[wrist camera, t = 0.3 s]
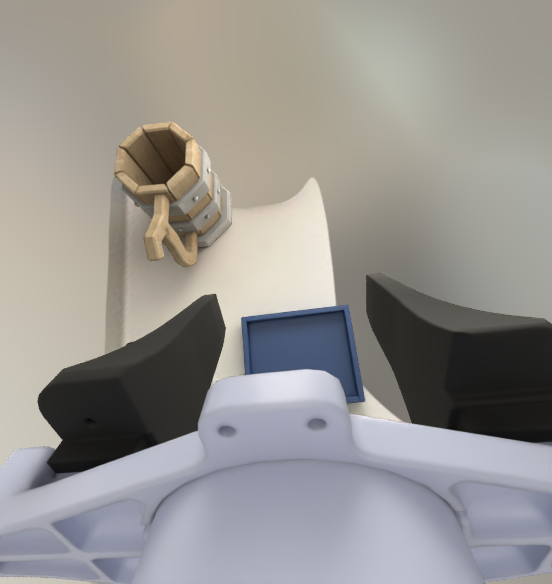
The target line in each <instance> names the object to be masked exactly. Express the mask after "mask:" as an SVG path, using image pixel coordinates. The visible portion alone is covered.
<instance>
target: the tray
mask: <svg viewBox="0 0 552 584" xmlns="http://www.w3.org/2000/svg"><path fill="white" fill-rule="evenodd" d="M241 320H242V334H243V348H244V362H245V375H251V374H261V373H272V372H282V371H293V370H303V369H310V370H320V371H326V372H327V373H329V374H331V375H332V376H334V377H336V378H337V379H339V381H340V383H341V386H342V388H343V390H344V393H345V398H346V402H347V403H355V402H365V398H364V392H363V386H362V381H361V376H360V369H359V363H358V358H357V352H356V346H355V340H354V334H353V329H352V323H351V317H350V312H349V306H348V305H341V306H333V307H324V308H316V309H308V310H299V311H291V312H283V313H274V314H266V315H257V316H249V317H242V318H241Z"/></svg>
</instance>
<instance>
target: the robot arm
mask: <svg viewBox="0 0 552 584" xmlns="http://www.w3.org/2000/svg"><path fill="white" fill-rule="evenodd" d="M366 305H367V306H366V309H367V310H366V312H367V316H368V319H369V321H370V324H371V328H372V330H373V332H374V334H375V336H376V338H377V340H378V342H379V344H380V346H381V348H382V350H383V352H384V354H385V356H386V357H387V359H388V361H389V363H390V365H391V367H392V370H393V372H394V374H395V377H396V379H397V382H398V385H399V388H400V390H401V393H402V396H403V399H404V401H405V404H406V407H407V410H408V413H409V416H410V419H411V422H412V424H411V423H405V422H398V421H392V420H386V419H380V418H373V417H367V416H361V415H355V414H350V413H349V411H348V406H347V402H346V398H345V393H344V390H343V388H342V386H341V383H340V381H339V379H337V378H336V377H334V376H332V375H331V374H329V373H327V372H326V371H320V370H310V369H303V370H293V371H282V372H272V373H261V374H251V375H240V376H231V377H228V378H225V379H222V380H219V381H216V382H215V383H214V384H213V386H212V387H211V388H210V386H211V382H212V379H213V376H214V373H215V370H216V367H217V364H218V360H219V357H220V354H221V351H222V347H223V343H224V337H225V330H226V327H225V324H224V321H223V317H222V314H221V310H220V307H219V304H218V300H217V297H216V294H211V295H204V296H202V297H200V298H199V299H197V300H196V301H195V302H193V303H192V304H191V305H189V306H188V307H187V308H185V309H184V310H183V311H182V312H180V313H179V314H178V315H176V316H175V317H173V318H172V319H171V320H169V321H168V322H166V323H165V324H164V325H162V326H161V327H159V328H158V329H156V330H154V331H153V332H151V333H149V334H148V335H146V336H144V337H142V338H140V339H138V340H136V341H134V342H132V343H130V344H128V345H126V346H124V347H122V348H120V349H118V350H115V351H113V352H111V353H108V354H106V355H103V356H101V357H98V358H95V359H92V360H90V361H86V362H84V363H80V364H77V365H74V366H71V367H68V368H65V369H63V370H62V371H61V372H60V373H59V374H58V375H57V376H56V377H55V378H54V379H53V380H52V381H51V382H50V383H49V384H48V385H47V386H46V387H45V388H44V389H43V390H42V392H41V393H40V394H39V397H38V405H39V410H40V412H41V413H42V415H43V417H44V418H45V419H46V420H47V422H48V423H49V424H50V425H51V427H52V428H53V429H54V430H55V431H56V432H57V434H58V435H59V436H60V438H61V439H62V442H61V444H60V445H59V446H58V447H57V449H56V450H55V449H54V448H51V447H45V446H43V447H31V448H19V449H16V450H15V451H14V452H13V453H12V454H11V455H10V457H9V458H8V459H7V460H6V462H4V464H3V465H2V466H1V467H0V577H41V578H59V579H69V580H80V581H89V582H98V583H107V584H486V583H485V582H492V581H499V580H506V579H512V578H520V577H526V576H534V575H540V574H548V573H552V324H551V323H550V322H548V321H547V320H545V319H542V318H533V317H523V316H512V315H504V314H498V313H491V312H486V311H480V310H475V309H471V308H467V307H463V306H458V305H455V304H451V303H448V302H445V301H442V300H439V299H435V298H433V297H430V296H428V295H425V294H423V293H420V292H418V291H416V290H414V289H411V288H409V287H407V286H405V285H403V284H401V283H399V282H397V281H395V280H393V279H391V278H389V277H387V276H385V275H383V274H380V273H378V274H371V275H366Z"/></svg>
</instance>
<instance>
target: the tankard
mask: <svg viewBox="0 0 552 584" xmlns="http://www.w3.org/2000/svg"><path fill="white" fill-rule="evenodd" d="M114 174H115V177H116V178H117V179H118V180H119V181H120V182H121V183H122V190H123V191H124V192H125V193H126V194H127V195H128V196H129V197H130V198H131V199H132V200H133V201H134V202H135V203H134V204H135V206H137V207H139V206H140V207H141V208H142V210H144V211H145V212H146V213H147V214H148V215H149V216H150V217H151V218H152V221H151V223H150V226H149V228H148V230H147V232H146V234H145V237H144V242H145V247H146V252H147V256H148V260H150V261H157V260H160V259H162V258H163V257H164V253H163V248H162V243H161V242H163V243H164V244H165V245H166V246H167V248H168V250H169V251H170V253H171V255H172V256H173V258H174V260H175V261H176V262H177V263H178V264H180V265H181V266H182V267H189V266H192V265H194V264H196V260H197V250H198V247H206V246H210V245H211V244H212V243H213V242H214V241H215V240H216V239H217V238H218V237H219V236H220V235H221V234H222V233H223V232H224V231H225V230H226V229H227V228H228V227H229V226H230V225H231V195H230V193H229V191H227V190H226V189H225V188H224V187H223V186H221V185H220V181H219V179H218V177H217V175H216V174H215V173H214V172H213V171H211V170H210V159H209V157H208V155H207V153H206V151H205V150H204V149H203V148H201V147H200V146H199V145H197V144H196V142H195V140H194V138H193V137H192V136H191V135H189V134H188V133H187V132H185V131H184V130H183V129H181V128H180V127H179V126H177V125H176V124H175V123H171V122H166V123H158V124H149V125H143V129H142V128H141V127H139V128H138V129H137V130H135V132H133V133H132V134H131V135H130V136H129V137H128V138H126V139H125V140H124V141H123V142H122V143H121V144H120V145H119V148H117V154H116V163H115V172H114Z"/></svg>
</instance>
